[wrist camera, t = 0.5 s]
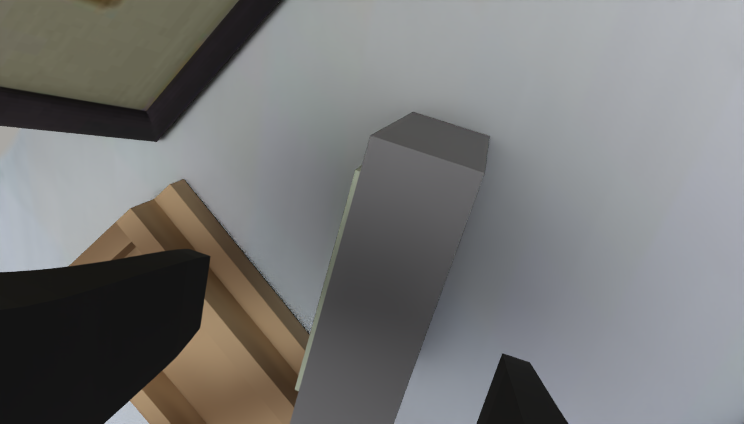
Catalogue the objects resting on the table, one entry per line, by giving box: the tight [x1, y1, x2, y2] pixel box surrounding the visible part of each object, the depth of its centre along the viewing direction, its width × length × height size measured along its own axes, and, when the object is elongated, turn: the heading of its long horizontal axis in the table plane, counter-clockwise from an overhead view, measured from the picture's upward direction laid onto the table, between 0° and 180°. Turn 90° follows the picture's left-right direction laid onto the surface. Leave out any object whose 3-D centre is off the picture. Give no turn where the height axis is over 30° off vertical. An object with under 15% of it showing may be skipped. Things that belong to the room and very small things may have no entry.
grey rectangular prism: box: [290, 112, 490, 424], centre depth 18 cm, size 3×10×7 cm, turn 164°
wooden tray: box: [69, 179, 310, 424], centre depth 24 cm, size 20×9×2 cm, turn 39°
